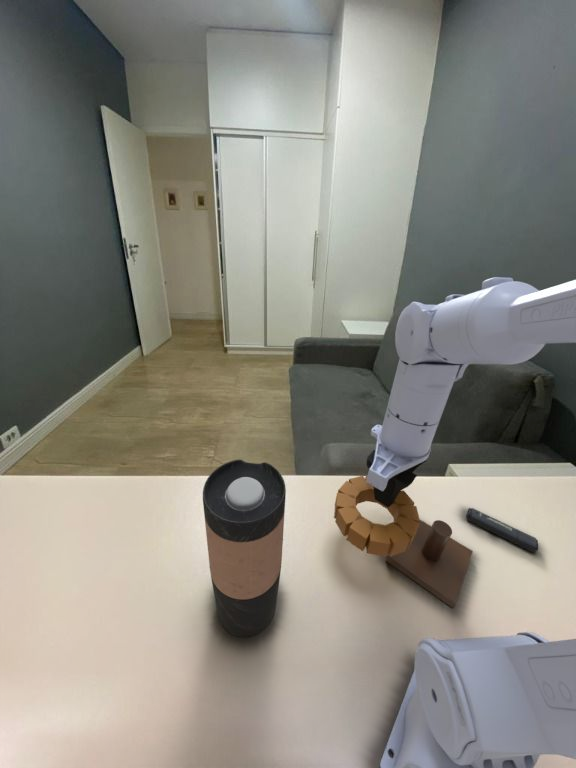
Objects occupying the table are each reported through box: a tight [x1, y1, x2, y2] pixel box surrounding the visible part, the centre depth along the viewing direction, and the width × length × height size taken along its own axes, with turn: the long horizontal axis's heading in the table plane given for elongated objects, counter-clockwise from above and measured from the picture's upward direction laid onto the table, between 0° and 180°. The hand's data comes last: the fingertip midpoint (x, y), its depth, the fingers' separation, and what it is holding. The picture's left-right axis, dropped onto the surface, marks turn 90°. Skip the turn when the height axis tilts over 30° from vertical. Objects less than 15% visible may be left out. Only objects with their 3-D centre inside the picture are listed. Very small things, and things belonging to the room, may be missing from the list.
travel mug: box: [202, 459, 287, 638], centre depth 33 cm, size 8×8×20 cm
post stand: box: [385, 518, 474, 609], centre depth 42 cm, size 9×9×7 cm
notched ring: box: [333, 475, 421, 558], centre depth 39 cm, size 10×10×2 cm
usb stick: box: [465, 507, 539, 553], centre depth 48 cm, size 10×3×2 cm, turn 54°
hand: (387, 494), depth 42 cm, fingers closed on notched ring, 3 cm apart
